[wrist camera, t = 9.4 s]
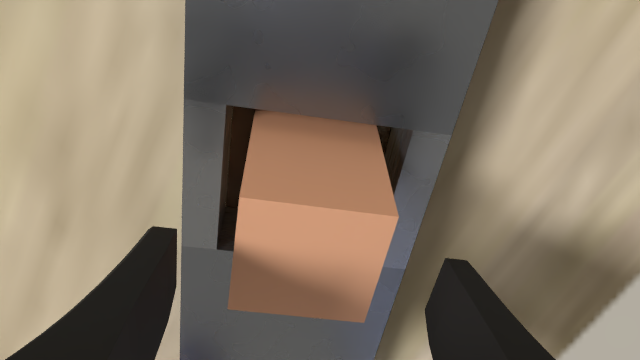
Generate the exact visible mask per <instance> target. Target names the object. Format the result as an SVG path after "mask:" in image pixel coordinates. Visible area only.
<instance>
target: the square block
mask: <svg viewBox="0 0 640 360" xmlns="http://www.w3.org/2000/svg"><path fill="white" fill-rule="evenodd" d="M398 218H399V215H398V211H397V207H396V203H395V199H394V195H393V191H392V187H391V183H390V179H389V175H388V170H387V166H386V162H385V158H384V154H383V150H382V146H381V142H380V138H379V134H378V130H377V126H376V125H372V124H364V123H357V122H349V121H342V120H334V119H327V118H320V117H312V116H305V115H297V114H290V113H282V112H275V111H268V110H260V109H255V114H254V119H253V125H252V130H251V136H250V141H249V146H248V152H247V157H246V163H245V168H244V174H243V179H242V185H241V190H240V196H239V204H238V214H237V223H236V233H235V242H234V252H233V261H232V271H231V281H230V290H229V300H228V310H238V311H248V312H259V313H269V314H279V315H289V316H299V317H309V318H320V319H330V320H340V321H350V322H360V323H364V322H365V319H366V316H367V313H368V310H369V307H370V304H371V301H372V298H373V295H374V291H375V288H376V285H377V282H378V279H379V276H380V273H381V270H382V267H383V264H384V261H385V258H386V255H387V252H388V249H389V246H390V243H391V240H392V237H393V234H394V230H395V227H396V224H397V221H398Z"/></svg>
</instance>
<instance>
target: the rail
mask: <svg viewBox="0 0 640 360" xmlns="http://www.w3.org/2000/svg"><path fill="white" fill-rule="evenodd" d="M497 3H498V0H186V1H185V64H184V127H183V190H182V253H181V316H180V360H374V358H375V355H376V352H377V349H378V346H379V343H380V340H381V338H382V335H383V332H384V329H385V326H386V323H387V320H388V317H389V315H390V312H391V309H392V306H393V303H394V300H395V297H396V294H397V291H398V289H399V286H400V283H401V280H402V277H403V274H404V271H405V268H406V266H407V263H408V260H409V257H410V254H411V251H412V248H413V245H414V242H415V240H416V237H417V234H418V231H419V228H420V225H421V222H422V219H423V217H424V214H425V211H426V208H427V205H428V202H429V199H430V196H431V193H432V191H433V188H434V185H435V182H436V179H437V176H438V173H439V170H440V167H441V165H442V162H443V159H444V156H445V153H446V150H447V147H448V144H449V142H450V139H451V136H452V133H453V130H454V127H455V124H456V121H457V118H458V116H459V113H460V110H461V107H462V104H463V101H464V98H465V95H466V93H467V90H468V87H469V84H470V81H471V78H472V75H473V72H474V69H475V67H476V64H477V61H478V58H479V55H480V52H481V49H482V46H483V44H484V41H485V38H486V35H487V32H488V29H489V26H490V23H491V20H492V18H493V15H494V12H495V9H496V6H497ZM233 106H238V107H245V108H253V109H260V110H268V111H275V112H282V113H290V114H297V115H305V116H312V117H320V118H327V119H334V120H342V121H349V122H357V123H364V124H372V125H379V126H386V127H392V129H391V132H390V136H389V140H388V143H387V147H386V151H385V155H384V158H385V162H386V166H387V170H388V175H389V179H390V183H391V187H392V191H393V195H394V199H395V203H396V207H397V211H398V215H399V218H398V221H397V224H396V227H395V230H394V234H393V237H392V240H391V243H390V246H389V249H388V252H387V255H386V258H385V261H384V264H383V267H382V270H381V273H380V276H379V279H378V282H377V285H376V288H375V291H374V295H373V298H372V301H371V304H370V307H369V310H368V313H367V316H366V319H365V322H364V323H360V322H350V321H340V320H330V319H320V318H309V317H299V316H289V315H279V314H269V313H259V312H248V311H238V310H228V300H229V290H230V281H231V271H232V261H233V252H234V242H235V233H236V223H237V214H238V208H234V207H226V197H227V183H228V170H229V157H230V143H231V130H232V117H233Z"/></svg>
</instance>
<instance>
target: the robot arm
mask: <svg viewBox="0 0 640 360" xmlns="http://www.w3.org/2000/svg"><path fill="white" fill-rule="evenodd" d="M176 270H177V229H172V228H163V227H154V226H153V227H151V228H150V229H148V231H147V232H146V233H145V234H144V236H143V237H142V238H141V239H140V240H139V242H138V243H137V244H136V245H135V246H134V247H133V249H132V250H131V251H130V252H129V253H128V254H127V255H126V256H125V258H124V259H123V260H122V261H121V262H120V263H119V264H118V265H117V266H116V267H115V268H114V269H113V270H112V271H111V272H110V273H109V274H108V275H107V277H106V278H105V279H104V280H103V281H102V282H101V283H100V284H99V285H98V286H96V287H95V288H94V289H93V290H92V291H91V292H90V293H89V294H88V295H87V296H86V297H85V298H84V299H82V300H81V301H80V302H79V303H78V304H77V305H76V306H75V307H74V308H73V309H71V310H70V311H69V312H68V313H67V314H66V315H64V316H63V317H62V318H61V319H60V320H58V321H57V322H56V323H55V324H53V325H52V326H51V327H50V328H48V329H47V330H46V331H44V332H43V333H42V334H41V335H39V336H38V337H36V338H35V339H34V340H32V341H31V342H30V343H28V344H27V345H25V346H24V347H23V348H21V349H20V350H19V351H17V352H16V353H14V354H13V355H11V356H10V357H8V358H7V359H5V360H155V357H156V354H157V351H158V349H159V346H160V343H161V340H162V337H163V334H164V332H165V329H166V326H167V323H168V320H169V315H170V311H171V307H172V303H173V298H174V294H175V289H176ZM425 315H426V324H427V332H428V339H429V346H430V350H431V354H432V358H433V360H556V359H555V358H553V357H552V356H551V355H550V354H549V353H548V352H547V351H546V350H545V349H544V348H543V347H542V346H541V344H540V343H539V342H538V341H537V340H536V339H535V338H534V337H533V336H532V335H531V334H530V333H529V332H528V331H527V330H526V329H525V328H524V327H523V325H522V324H521V323H520V322H519V321H518V320H517V319H516V318H515V317H514V315H513V314H512V313H511V312H510V311H509V310H508V309H507V307H506V306H505V305H504V304H503V303H502V302H501V300H500V299H499V298H498V297H497V296H496V294H495V293H494V292H493V291H492V290H491V288H490V287H489V286H488V285H487V284H486V282H485V281H484V280H483V279H482V278H481V276H480V275H479V274H478V273H477V272H476V270H475V269H474V268H473V267H472V266H471V265H470V263H469V262H468V261H467V260H458V259H449V258H445V260H444V263H443V265H442V268H441V270H440V273H439V275H438V278H437V280H436V283H435V286H434V288H433V291H432V293H431V296H430V298H429V301H428V303H427V306H426V308H425Z"/></svg>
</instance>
